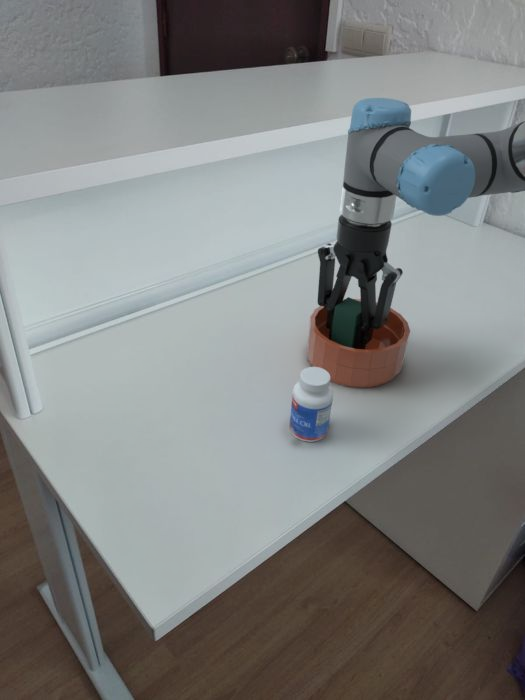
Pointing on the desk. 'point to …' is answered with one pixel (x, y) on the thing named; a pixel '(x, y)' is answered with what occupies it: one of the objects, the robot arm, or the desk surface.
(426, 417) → the desk surface
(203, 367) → the desk surface
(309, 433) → the pill bottle
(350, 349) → the bowl
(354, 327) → the green block
